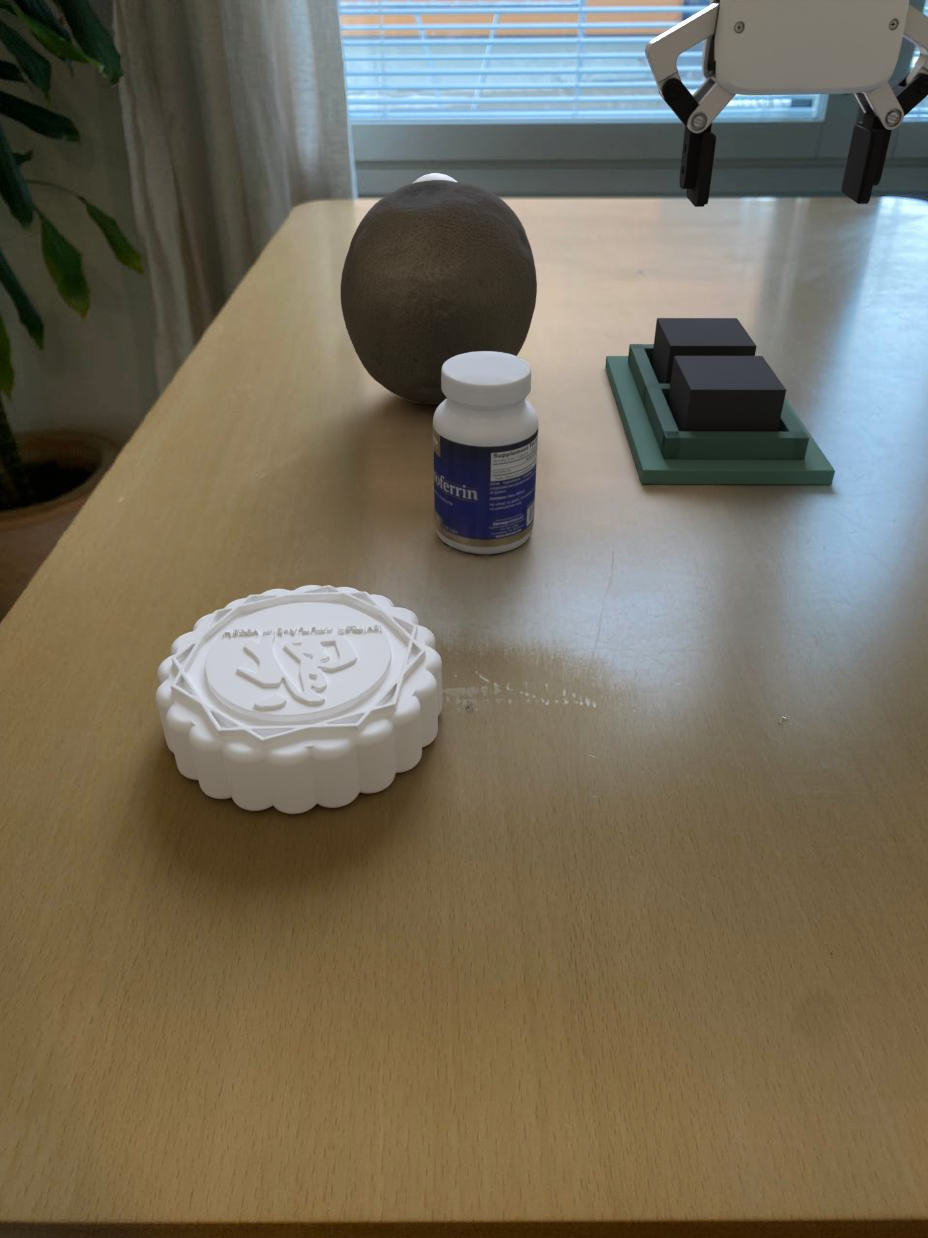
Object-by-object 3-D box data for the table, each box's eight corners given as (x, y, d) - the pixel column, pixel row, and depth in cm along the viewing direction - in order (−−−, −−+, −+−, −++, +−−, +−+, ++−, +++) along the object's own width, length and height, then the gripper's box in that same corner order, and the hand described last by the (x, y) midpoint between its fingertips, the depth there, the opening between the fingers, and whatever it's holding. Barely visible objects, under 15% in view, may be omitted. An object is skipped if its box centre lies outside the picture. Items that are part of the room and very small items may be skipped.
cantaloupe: (305, 406, 69) (282, 186, 61) (432, 354, 78) (428, 155, 69) (451, 462, 62) (449, 220, 53) (573, 397, 71) (589, 181, 62)
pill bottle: (415, 526, 55) (409, 361, 49) (492, 499, 58) (495, 339, 52) (474, 569, 51) (475, 396, 46) (553, 537, 54) (564, 370, 48)
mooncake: (138, 824, 37) (119, 757, 34) (194, 638, 46) (181, 577, 44) (447, 812, 37) (446, 745, 35) (438, 631, 47) (437, 570, 45)
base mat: (754, 367, 76) (760, 337, 74) (831, 484, 59) (841, 448, 58) (605, 367, 76) (607, 336, 74) (641, 484, 59) (645, 448, 58)
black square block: (728, 369, 73) (737, 317, 70) (746, 400, 68) (757, 345, 65) (650, 369, 73) (656, 317, 70) (663, 400, 68) (670, 345, 65)
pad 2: (752, 411, 66) (762, 355, 64) (774, 448, 61) (786, 389, 59) (666, 410, 66) (674, 355, 64) (682, 448, 61) (690, 389, 59)
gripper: (975, -161, 51) (894, 184, 61) (652, -154, 51) (625, 189, 61) (1045, -173, 44) (942, 212, 55) (677, -165, 45) (643, 218, 55)
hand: (775, 200), depth 58 cm, fingers open, 9 cm apart
